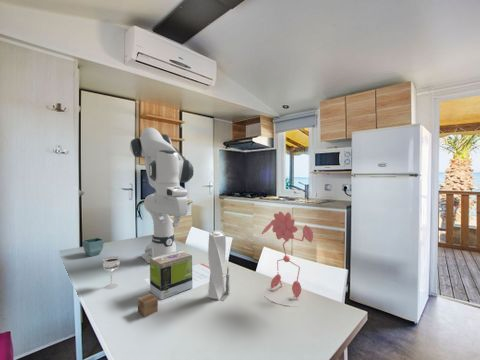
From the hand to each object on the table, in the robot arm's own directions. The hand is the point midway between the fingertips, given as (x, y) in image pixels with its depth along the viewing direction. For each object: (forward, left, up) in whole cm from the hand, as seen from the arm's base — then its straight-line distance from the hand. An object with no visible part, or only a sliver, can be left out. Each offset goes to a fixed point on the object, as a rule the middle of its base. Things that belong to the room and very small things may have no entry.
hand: (168, 225), depth 96 cm
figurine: (+32, +33, -30) cm, 55 cm away
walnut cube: (+3, -10, -29) cm, 31 cm away
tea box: (-5, +5, -30) cm, 30 cm away
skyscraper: (+13, +15, -30) cm, 36 cm away
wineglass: (-27, -11, -30) cm, 42 cm away
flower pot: (-78, -2, -30) cm, 83 cm away
